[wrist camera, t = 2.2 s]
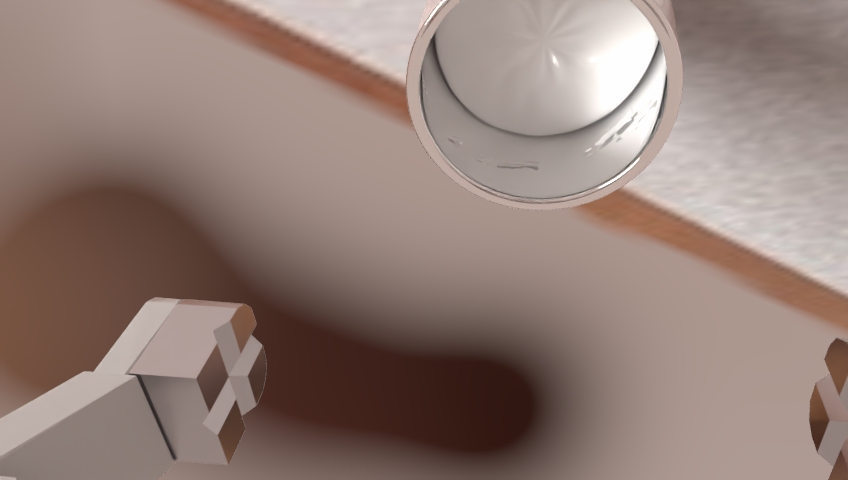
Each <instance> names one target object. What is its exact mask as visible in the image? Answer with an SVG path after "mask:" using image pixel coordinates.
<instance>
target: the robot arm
mask: <svg viewBox="0 0 848 480" xmlns="http://www.w3.org/2000/svg"><path fill="white" fill-rule="evenodd" d="M255 326H256V321H255V318H254V315H253V312H252V309H251V307H249V306H247V305H245V304H238V303H225V302H214V301H201V300H189V299H185V300H179V299H169V298H154V299H151V300H149V301H147V302H146V303H145V304H144V306H143V307H142V308H141V310H140V311H139V312H138V314H137V315H136V317H135V318H134V319H133V320H132V322H131V323H130V324H129V326H128V327H127V328H126V330H125V331H124V332H123V334H122V335H121V336H120V338H119V339H118V340H117V342H116V343H115V344H114V346H113V347H112V348H111V350H110V351H109V352H108V353H107V355H106V356H105V357H104V359H103V360H102V361H101V363H100V364H99V365H98V367H97V368H96V369H95V371H94V372H82V373H81V374H79V375H77V376H75V377H73V378H72V379H70V380H68V381H66V382H65V383H63V384H61V385H59V386H58V387H56V388H54V389H52V390H51V391H49V392H47V393H45V394H43V395H42V396H40V397H38V398H36V399H35V400H33V401H31V402H29V403H27V404H26V405H24V406H22V407H21V408H19V409H17V410H15V411H13V412H12V413H10V414H8V415H6V416H5V417H3V418H1V419H0V480H157V479H159V478H160V477H161V476H162V475H163V474H164V473H166V472H167V471H168V470H169V469H170V468H171V467H173V466H174V465H175V462H174V461H179V462H194V463H207V464H221V465H229V463H230V461H231V459H232V457H233V455H234V452H235V450H236V448H237V446H238V444H239V442H240V440H241V437H242V435H243V433H244V431H245V429H246V428H245V425H244V422H243V419H242V415H244V414H245V413H247V412H248V411H249V410H251V409H252V408H254V407H255V406H256V405H257V403H258V401H259V399H260V396H261V394H262V392H263V388H264V383H265V377H266V372H267V370H266V356H265V352H264V349H263V345H262V344H261V343H259V342H258V341H257V340H256V339H255V338H254V337H253V336H252V335H251V333H252V332H253V330H254V328H255ZM824 360H825V362H826V365H827V367H828V370H829V372H830V374H829V375H827V376H826V377H824V378H823V379H821V380H820V381H818V382H816V383H815V386H814V390H813V393H812V396H811V399H810V413H809V422H810V428H811V434H812V438H813V441H814V444H815V447H816V450H817V453H818V454H819V455H821V456H822V457H823V458H824V459H825V460H826V461H828V462H829V463H830V464H831V465H832V466H833V469H832V472H831V474H830V477H829V479H828V480H848V338H836V339H835V340H834V341H833V342H832V343H831V344H830V346H829V348H828V351H827V354H826V356H825V359H824Z"/></svg>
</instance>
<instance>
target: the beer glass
mask: <svg viewBox="0 0 848 480" xmlns="http://www.w3.org/2000/svg"><path fill="white" fill-rule="evenodd" d="M682 91H683V67H682V59H681V54H680V50H679V46H678V38H677V30H676V23H675V16H674V11H673V6H672V3H671V0H427V2H426V5H425V8H424V11H423V14H422V18H421V21H420V25H419V28H418V33H417V36H416V39H415V41H414V44H413V47H412V50H411V53H410V57H409V61H408V67H407V75H406V96H407V104H408V110H409V114H410V118H411V121H412V124H413V127H414V130H415V132H416V134H417V136H418V139H419V140H420V142H421V144H422V146H423V148H424V149H425V150H426V152H427V154H428V155H429V156H430V158H431V159H432V160H433V162H434V163H435V164H436V165H437V166H438V167H439V168H440V169H441V170H442V171H443V172H444V173H445V174H446V175H447V176H448V177H449V178H450V179H452V180H453V181H454V182H455V183H457V184H458V185H460V186H461V187H463V188H464V189H466V190H468V191H469V192H471V193H473V194H475V195H476V196H478V197H481V198H483V199H485V200H488V201H490V202H493V203H496V204H499V205H503V206H507V207H512V208H517V209H526V210H558V209H565V208H570V207H575V206H579V205H583V204H586V203H589V202H592V201H595V200H597V199H600V198H602V197H604V196H606V195H608V194H610V193H612V192H614V191H616V190H617V189H619V188H621V187H622V186H624V185H625V184H627V183H628V182H629V181H631V180H632V179H633V178H635V177H636V176H637V175H638V174H639V173H640V172H641V171H643V170H644V169H645V168H646V167H647V166H648V165H649V163H650V162H651V161H652V160H653V159H654V158H655V156H656V155H657V154H658V152H659V151H660V150H661V148H662V147H663V145H664V144H665V142H666V140H667V138H668V137H669V135H670V133H671V130H672V128H673V126H674V123H675V121H676V118H677V115H678V112H679V108H680V104H681V98H682Z"/></svg>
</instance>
